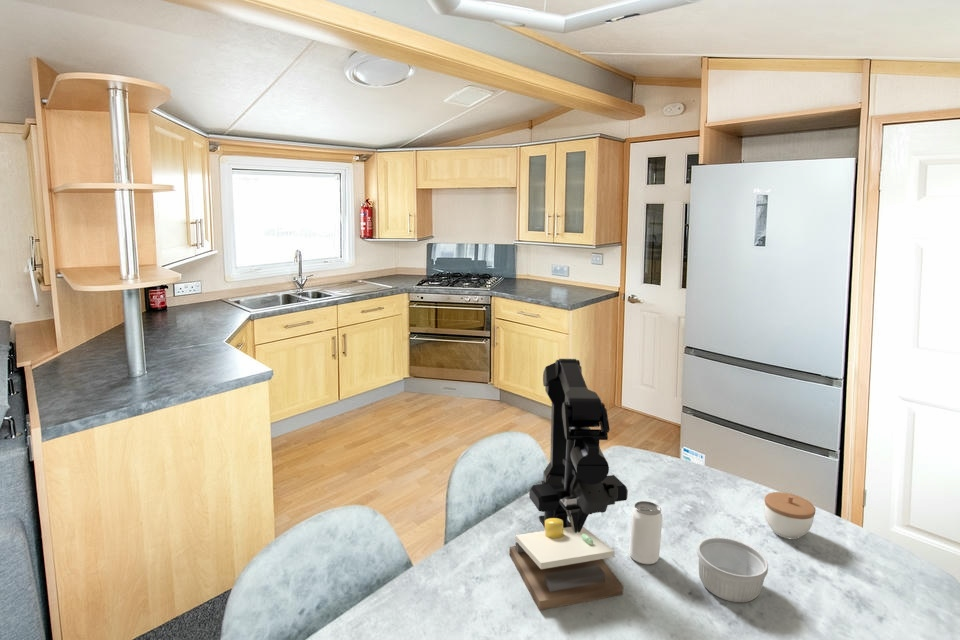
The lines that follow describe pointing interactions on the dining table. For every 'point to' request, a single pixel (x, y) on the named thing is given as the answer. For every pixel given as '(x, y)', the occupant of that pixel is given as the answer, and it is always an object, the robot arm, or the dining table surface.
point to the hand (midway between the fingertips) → (576, 531)
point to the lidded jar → (788, 514)
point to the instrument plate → (562, 545)
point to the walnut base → (567, 594)
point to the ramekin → (731, 569)
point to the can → (645, 533)
